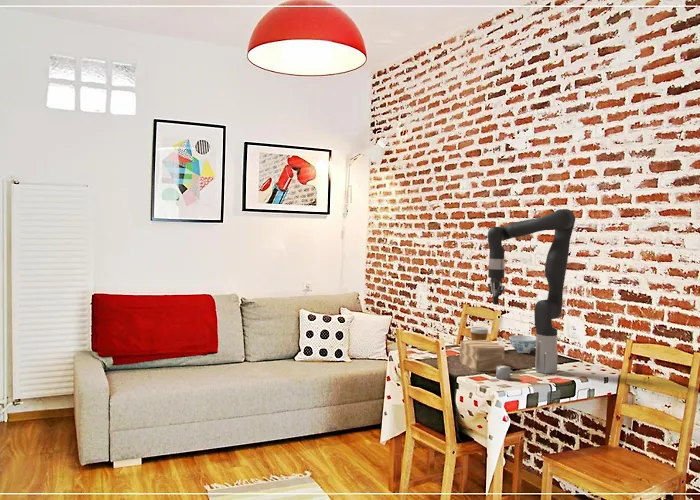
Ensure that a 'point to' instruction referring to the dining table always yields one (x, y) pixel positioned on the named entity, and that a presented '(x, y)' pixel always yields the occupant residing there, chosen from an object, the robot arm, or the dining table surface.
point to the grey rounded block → (503, 372)
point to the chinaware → (523, 343)
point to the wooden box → (481, 358)
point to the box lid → (482, 344)
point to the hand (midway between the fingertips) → (495, 304)
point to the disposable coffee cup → (479, 333)
